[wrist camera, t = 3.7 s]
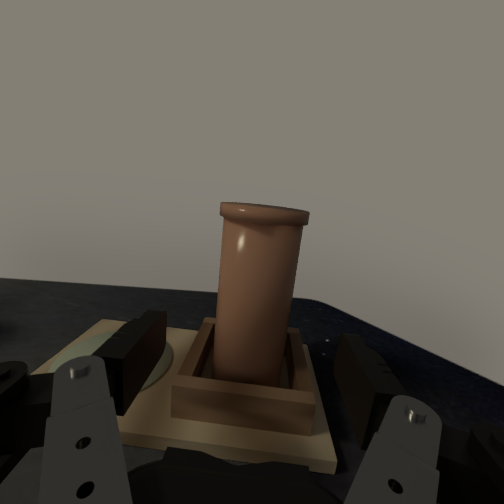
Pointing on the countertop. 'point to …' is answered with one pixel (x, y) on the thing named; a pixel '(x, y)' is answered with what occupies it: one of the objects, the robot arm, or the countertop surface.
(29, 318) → the countertop surface
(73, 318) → the countertop surface
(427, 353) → the countertop surface
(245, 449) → the board
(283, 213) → the tall brown tankard
